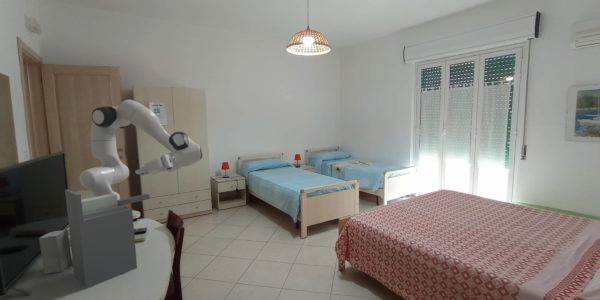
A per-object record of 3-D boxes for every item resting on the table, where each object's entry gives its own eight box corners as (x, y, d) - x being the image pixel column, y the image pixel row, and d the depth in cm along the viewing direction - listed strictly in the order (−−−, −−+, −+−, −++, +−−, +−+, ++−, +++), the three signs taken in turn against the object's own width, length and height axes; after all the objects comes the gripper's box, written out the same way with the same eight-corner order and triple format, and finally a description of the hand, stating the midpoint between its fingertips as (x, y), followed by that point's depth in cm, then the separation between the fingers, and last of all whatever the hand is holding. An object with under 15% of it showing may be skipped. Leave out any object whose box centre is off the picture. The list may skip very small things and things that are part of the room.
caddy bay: (74, 276, 114) (64, 189, 110) (123, 258, 128) (116, 181, 124) (86, 288, 106) (76, 195, 102) (137, 268, 120) (130, 185, 116)
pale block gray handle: (79, 215, 110) (77, 200, 110) (146, 199, 131) (145, 187, 130) (83, 217, 108) (81, 202, 107) (151, 201, 128) (150, 188, 127)
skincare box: (61, 272, 117) (57, 236, 116) (41, 274, 116) (37, 238, 114) (73, 262, 126) (69, 228, 124) (55, 264, 124) (51, 230, 123)
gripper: (168, 159, 145) (139, 169, 140) (164, 153, 126) (130, 164, 121) (172, 170, 145) (143, 180, 140) (169, 166, 126) (136, 178, 121)
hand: (137, 173), depth 130 cm, fingers open, 8 cm apart
